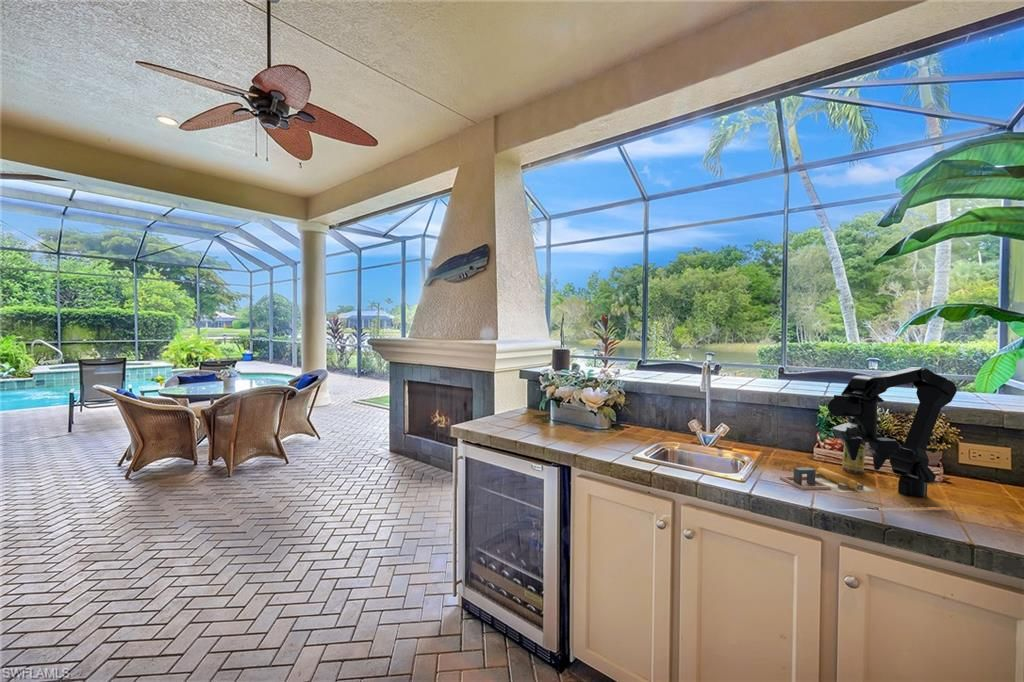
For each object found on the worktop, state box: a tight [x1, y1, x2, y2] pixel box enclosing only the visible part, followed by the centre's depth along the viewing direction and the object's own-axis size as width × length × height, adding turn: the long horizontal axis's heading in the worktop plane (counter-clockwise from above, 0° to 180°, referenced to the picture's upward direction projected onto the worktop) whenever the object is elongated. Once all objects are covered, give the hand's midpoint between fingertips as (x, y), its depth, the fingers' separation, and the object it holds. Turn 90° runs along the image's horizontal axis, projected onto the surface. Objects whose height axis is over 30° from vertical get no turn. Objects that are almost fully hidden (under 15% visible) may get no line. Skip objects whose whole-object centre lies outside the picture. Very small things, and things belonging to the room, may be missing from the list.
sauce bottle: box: [841, 440, 867, 474], centre depth 152 cm, size 7×6×20 cm
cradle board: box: [802, 471, 878, 493], centre depth 140 cm, size 17×13×2 cm
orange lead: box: [816, 467, 859, 489], centre depth 140 cm, size 15×3×3 cm, turn 4°
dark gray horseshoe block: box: [793, 467, 817, 486], centre depth 138 cm, size 6×2×5 cm, turn 94°
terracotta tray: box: [779, 475, 832, 491], centre depth 138 cm, size 10×10×2 cm
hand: (864, 464), depth 128 cm, fingers open, 9 cm apart
